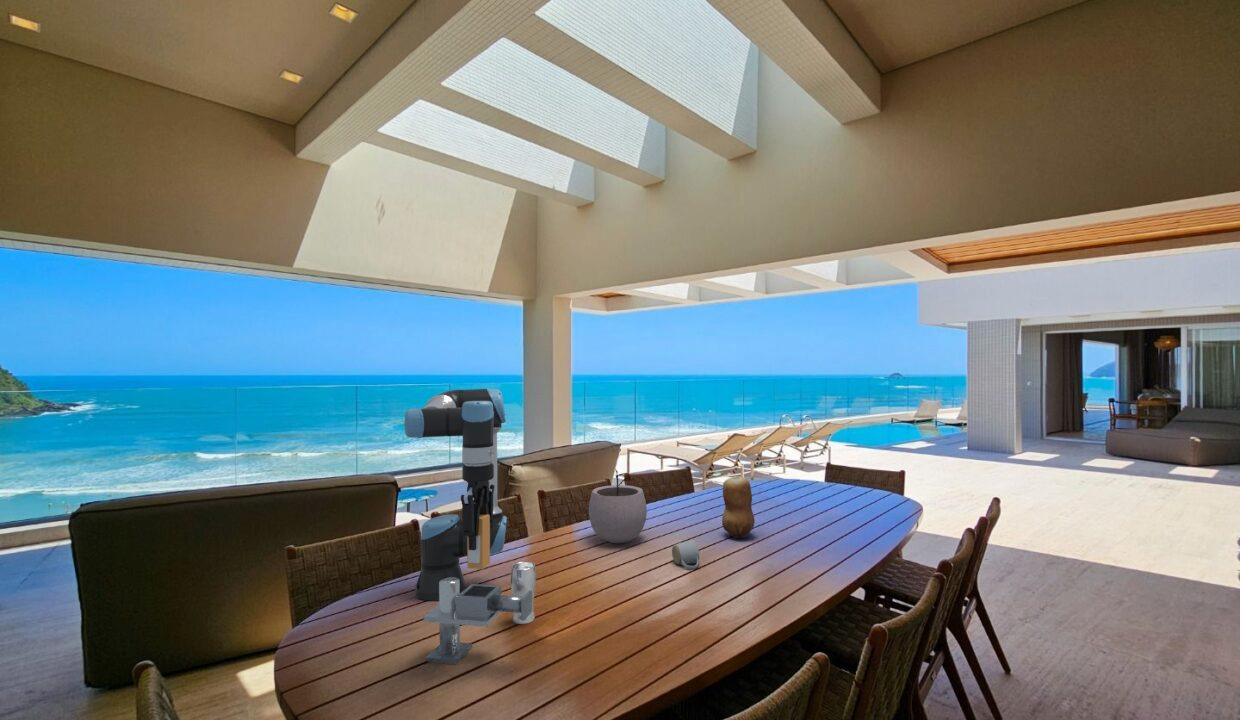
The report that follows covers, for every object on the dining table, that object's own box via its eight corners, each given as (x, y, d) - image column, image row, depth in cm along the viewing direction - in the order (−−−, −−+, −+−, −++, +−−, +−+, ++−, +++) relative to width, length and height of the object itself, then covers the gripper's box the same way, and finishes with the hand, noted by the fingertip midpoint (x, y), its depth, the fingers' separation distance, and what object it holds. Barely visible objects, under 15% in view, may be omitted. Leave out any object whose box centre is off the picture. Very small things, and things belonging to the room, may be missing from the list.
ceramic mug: (670, 561, 194) (670, 540, 194) (690, 558, 197) (690, 537, 197) (683, 571, 184) (683, 549, 184) (704, 568, 187) (704, 546, 187)
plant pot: (648, 550, 207) (647, 473, 207) (587, 551, 207) (586, 473, 208) (646, 532, 231) (645, 462, 231) (591, 532, 231) (590, 463, 232)
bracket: (456, 617, 127) (456, 596, 127) (472, 603, 135) (471, 583, 135) (522, 623, 124) (521, 601, 124) (534, 608, 131) (534, 588, 132)
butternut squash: (718, 532, 228) (717, 474, 228) (748, 531, 229) (747, 473, 230) (728, 543, 214) (727, 480, 215) (760, 541, 215) (759, 479, 216)
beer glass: (524, 627, 145) (524, 571, 145) (505, 621, 149) (505, 567, 149) (541, 617, 151) (540, 564, 151) (522, 611, 154) (522, 559, 155)
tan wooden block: (467, 568, 129) (467, 518, 129) (475, 562, 133) (474, 514, 133) (482, 569, 128) (482, 519, 128) (490, 563, 132) (489, 514, 132)
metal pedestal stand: (423, 663, 127) (423, 587, 128) (445, 642, 137) (445, 572, 138) (487, 670, 124) (487, 592, 124) (505, 648, 134) (504, 576, 134)
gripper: (476, 470, 122) (476, 572, 121) (506, 458, 139) (507, 548, 138) (446, 469, 123) (446, 570, 123) (480, 457, 140) (480, 547, 139)
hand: (478, 558), depth 130 cm, fingers closed on tan wooden block, 4 cm apart
